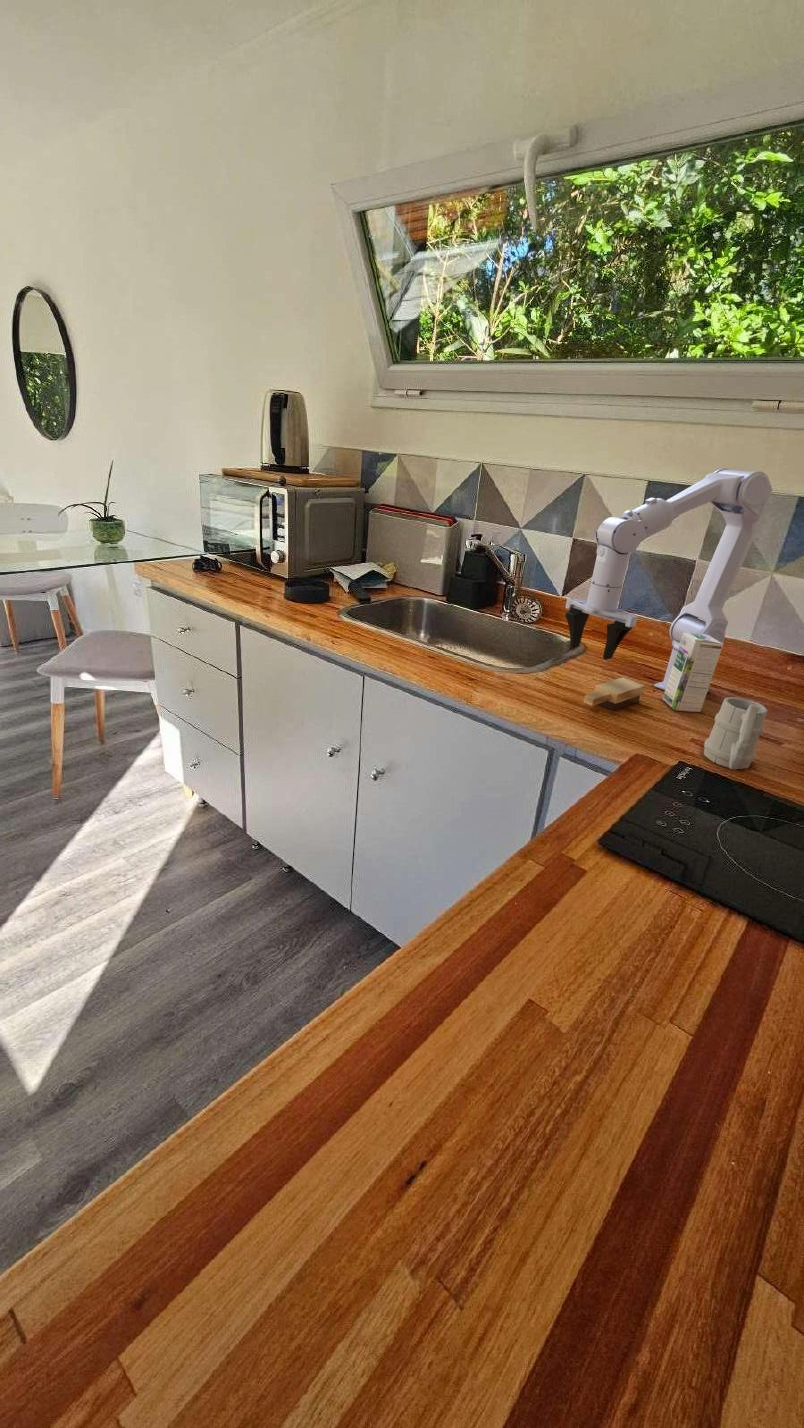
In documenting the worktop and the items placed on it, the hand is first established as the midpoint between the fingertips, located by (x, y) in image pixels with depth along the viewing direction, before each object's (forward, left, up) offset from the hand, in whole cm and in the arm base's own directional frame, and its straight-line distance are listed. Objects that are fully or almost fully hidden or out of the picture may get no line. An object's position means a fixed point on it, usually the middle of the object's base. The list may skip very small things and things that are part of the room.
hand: (590, 652), depth 118 cm
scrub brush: (+1, +7, -9) cm, 11 cm away
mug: (+4, +32, -9) cm, 33 cm away
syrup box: (-13, +15, -9) cm, 22 cm away
